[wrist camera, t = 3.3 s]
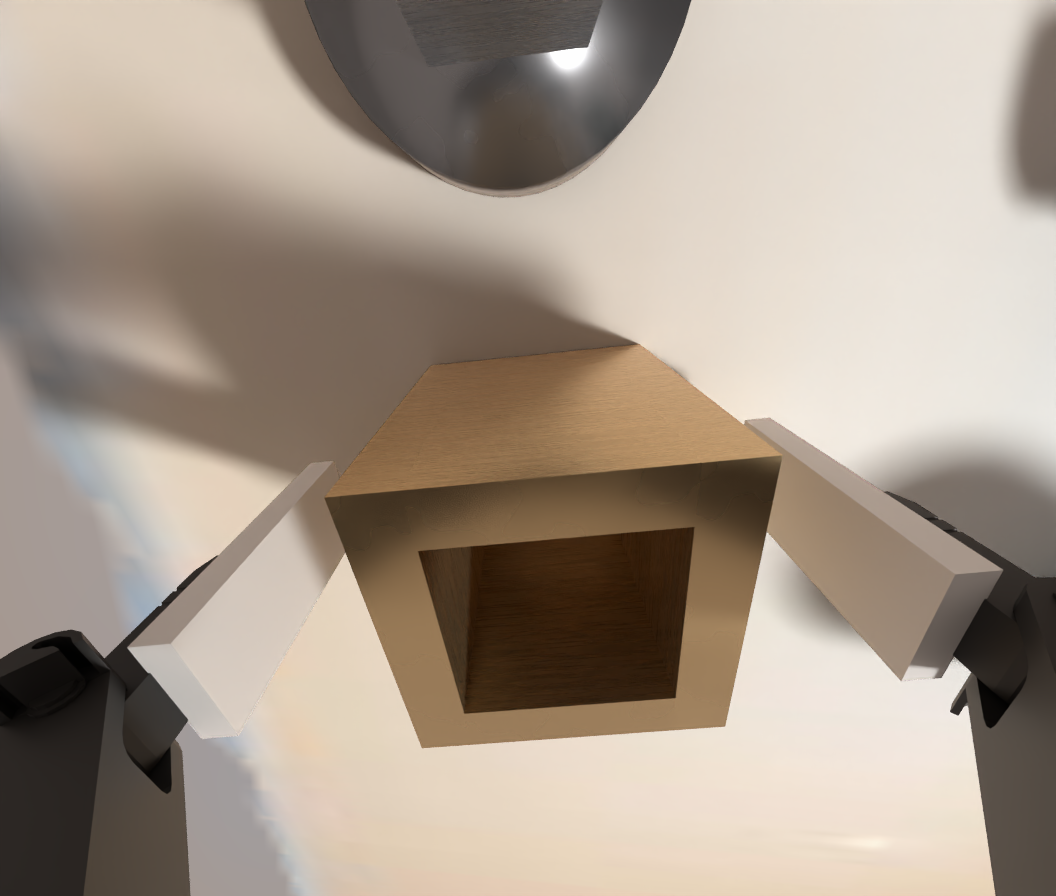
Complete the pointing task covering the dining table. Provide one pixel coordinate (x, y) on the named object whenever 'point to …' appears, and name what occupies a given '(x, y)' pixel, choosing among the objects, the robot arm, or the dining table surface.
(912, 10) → the dining table surface
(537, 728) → the hollow square tube
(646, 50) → the grey handled bowl
